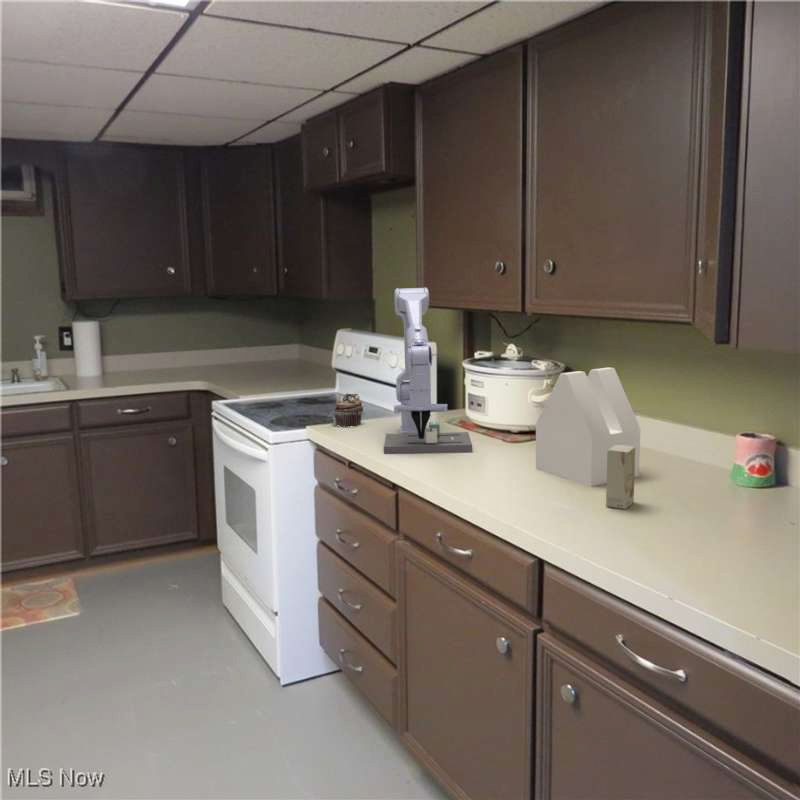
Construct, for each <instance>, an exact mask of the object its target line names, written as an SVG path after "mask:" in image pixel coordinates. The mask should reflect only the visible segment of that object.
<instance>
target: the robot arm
mask: <svg viewBox="0 0 800 800" xmlns="http://www.w3.org/2000/svg"><path fill="white" fill-rule="evenodd" d="M429 292H430V291H429V289H428V288H427V287H426V286H425V287H414V288H413V287H410V288H409V287H408V288H399V287H396V289H395V290H394V311H395V314H396V316H398V317H401V320H402V322H403V338H404V339H403V345H404V347H403V348H404V370H403V371H402V372H400V373H399V374H398V375H397V377H396V380H395V381H396V384H395V394H396V400H397V402H398V403H400V404H398V405H397V404H395V405H394V406H393V410H394V412H393V413H394V414H399V413H400V414H401V425H400V430H399V434H404V433H418V435H419V439H424V433H426V429H427V425H428V424H429V420H430V418H431V413H448V404H447V403H432V390H431V389H432V384H431V381H432V380H431V379H432V378H431V367H432V365H433V349H432V346H431V343H430V342H429V338H428V337H429V336H428V330H427V328H426V327H425V326H424V325H423V316H424V315H426V314H427V311H428V308H429V307H430V306H429V305H430V293H429Z"/></svg>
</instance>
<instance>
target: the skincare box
mask: <svg viewBox="0 0 800 800" xmlns="http://www.w3.org/2000/svg"><path fill="white" fill-rule="evenodd" d="M634 471H635V447H633V446H625V445H615V446H613V447H611V448H610V449H609V450H607V483H606V489H605V490H606V493H605V494H606V495H605V497H606V498H605V507H609V508H616V509H621V510H622V509H623V510H626V509H627V508H629V507H630V506H631V505H632V504H633V503H634V499H635V498H634V497H635V477H634Z"/></svg>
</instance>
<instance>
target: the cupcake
mask: <svg viewBox="0 0 800 800" xmlns="http://www.w3.org/2000/svg"><path fill="white" fill-rule="evenodd" d="M360 398H361V397H360V396H359V394H358V393H345V394H342V396H341V397H340V398H339V399H338V401H337V402H336V404H335V408H334V409H333V415H334V419H335V420H334V421H335V424H336V426H337V425H339V426H349V427H348V428H351V427H350V426H355V427H358V426H360V425H361V422H362V416H363V412H364V407H363V406H362V404H363V403H362V401H361V400H360ZM339 426H338V427H339Z"/></svg>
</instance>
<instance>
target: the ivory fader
mask: <svg viewBox="0 0 800 800" xmlns="http://www.w3.org/2000/svg"><path fill="white" fill-rule="evenodd" d="M426 443H437V429H436V428H435V429H432V428H430V429H429V428H426Z"/></svg>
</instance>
